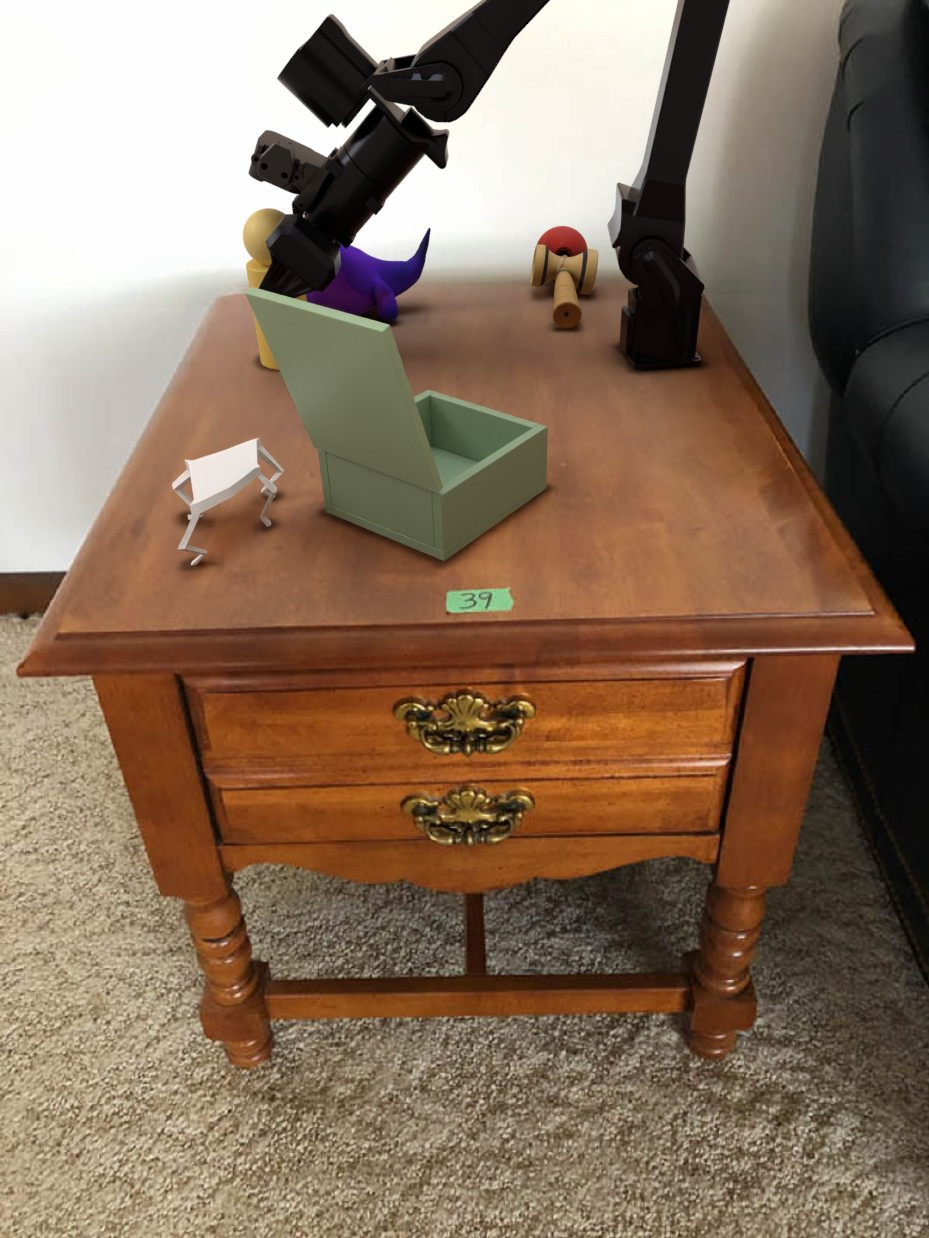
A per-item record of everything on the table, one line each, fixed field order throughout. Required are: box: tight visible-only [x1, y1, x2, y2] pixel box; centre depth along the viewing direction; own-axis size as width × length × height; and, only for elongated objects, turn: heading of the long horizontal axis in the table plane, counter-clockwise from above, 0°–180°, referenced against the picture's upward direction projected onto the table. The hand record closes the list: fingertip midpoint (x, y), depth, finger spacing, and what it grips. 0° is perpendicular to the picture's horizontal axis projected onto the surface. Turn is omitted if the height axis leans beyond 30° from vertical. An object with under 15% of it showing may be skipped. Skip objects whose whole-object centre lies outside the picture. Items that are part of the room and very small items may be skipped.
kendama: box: [529, 225, 599, 330], centre depth 112 cm, size 8×6×18 cm
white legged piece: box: [171, 437, 285, 566], centre depth 75 cm, size 12×8×5 cm
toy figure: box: [242, 207, 307, 371], centre depth 98 cm, size 5×5×14 cm
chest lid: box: [244, 287, 443, 493], centre depth 67 cm, size 13×12×1 cm
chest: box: [317, 389, 549, 562], centre depth 77 cm, size 13×12×5 cm
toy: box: [306, 227, 432, 322], centre depth 109 cm, size 9×10×15 cm
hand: (263, 293), depth 98 cm, fingers open, 8 cm apart
